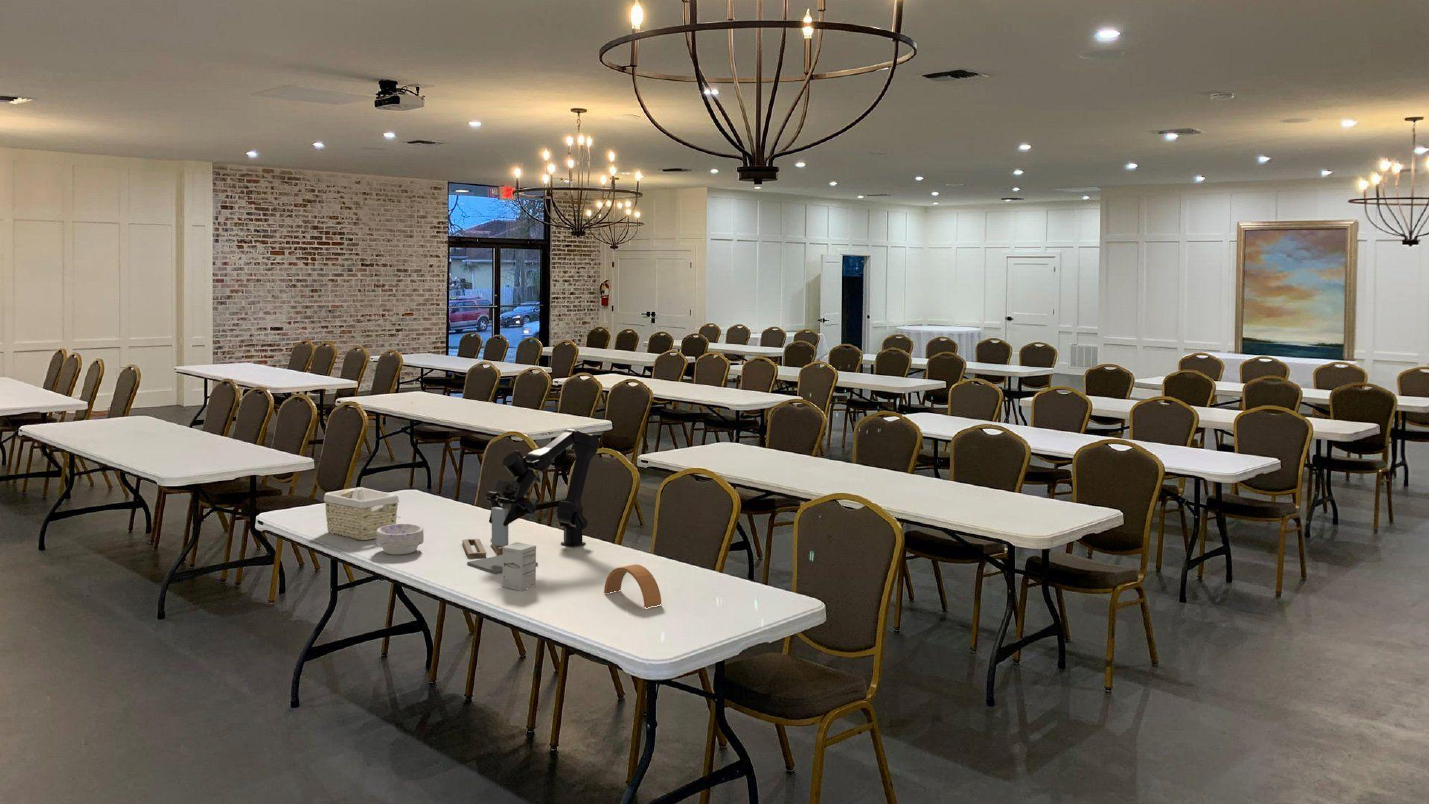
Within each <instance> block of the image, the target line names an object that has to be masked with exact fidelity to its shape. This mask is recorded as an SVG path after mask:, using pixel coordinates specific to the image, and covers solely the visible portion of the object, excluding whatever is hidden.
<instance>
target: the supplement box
mask: <svg viewBox="0 0 1429 804" xmlns="http://www.w3.org/2000/svg"><path fill="white" fill-rule="evenodd" d="M502 555H503V573H502V578H501V579H502V587H501V588H505V589H510V588H511V590H516V591H520V592H523V591H525V589H526V590H528V589H531V588H533V587H535V586H536V583H537V582H536V581H537V579H536V577H537V566H536V562H537V545H536V544H530V543H529V544H528V543H522V542H513V543H511V544H508V545H507V546H504V547H503V554H502ZM534 585H535V586H534ZM532 586H533V587H532ZM527 588H528V589H527Z"/></svg>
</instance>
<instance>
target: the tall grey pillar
mask: <svg viewBox="0 0 1429 804" xmlns="http://www.w3.org/2000/svg"><path fill="white" fill-rule="evenodd" d="M491 510H492V523H491V538H492V544H494V545H499V546H503V547H504V546H507V545H509V524H508V525H507V526H504V525H503V523H504V521H505V519H506V517H507V515H508V513H509V508H503V507H502V508H499V507H492V506H491ZM492 544H491V545H492Z"/></svg>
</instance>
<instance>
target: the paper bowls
mask: <svg viewBox="0 0 1429 804" xmlns="http://www.w3.org/2000/svg"><path fill="white" fill-rule="evenodd" d="M424 534H425V533H424V527H423V526H421V525H417V524H414V523H412V524H411V523H396V524H393V525H387V526H383V527H380V528H378V529H377V531H376V536H377V538H376V545H377V546H378V547H380V548H382V550H383V552H384V553H386V554H388V555H396V556H399V555H401V556H403V555H409V554H411V553H414V552H415V551H417V549H418V547H419V546H420V545H422V544H423V543H424V541H425V539H424V537H425V536H424Z"/></svg>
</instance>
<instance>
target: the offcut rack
mask: <svg viewBox="0 0 1429 804" xmlns="http://www.w3.org/2000/svg"><path fill="white" fill-rule="evenodd" d="M461 540H462V542H461V543H462V545H463V549H464V551H465V553H466V556H467V559H474V558H477V557H478V558H487V552H486V549H485V547H484V545H483V544H482V541H481V540H480V538H470V539H469V538H468V539H467V538H466V539H461ZM490 543H492V537H491V538H490ZM471 545H474V546H475V549H476V550H477V552H476V551H475V552H474V550H473V548H472V546H471ZM491 545H493V546H492V547H493V549H494V551H495V553H496V556H499V555H498V554H502V555H503V546H499V545H494V544H491ZM478 558H477V559H478Z"/></svg>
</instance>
